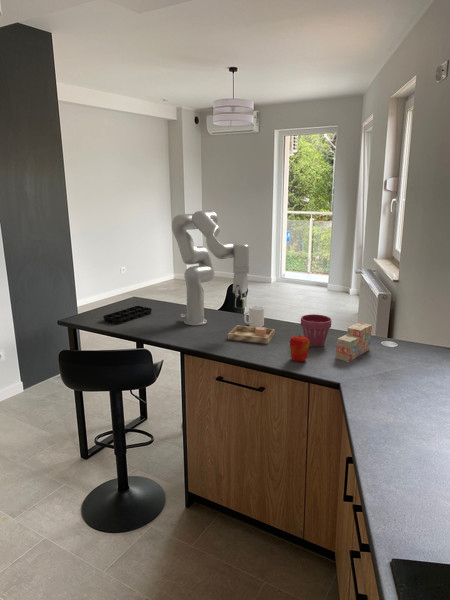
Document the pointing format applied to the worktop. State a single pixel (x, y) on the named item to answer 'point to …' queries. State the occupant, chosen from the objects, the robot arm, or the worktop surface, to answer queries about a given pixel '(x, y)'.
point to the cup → (255, 316)
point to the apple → (299, 348)
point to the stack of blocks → (354, 342)
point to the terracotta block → (260, 331)
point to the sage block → (243, 302)
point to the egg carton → (127, 315)
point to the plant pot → (316, 328)
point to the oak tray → (250, 335)
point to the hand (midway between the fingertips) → (240, 306)
